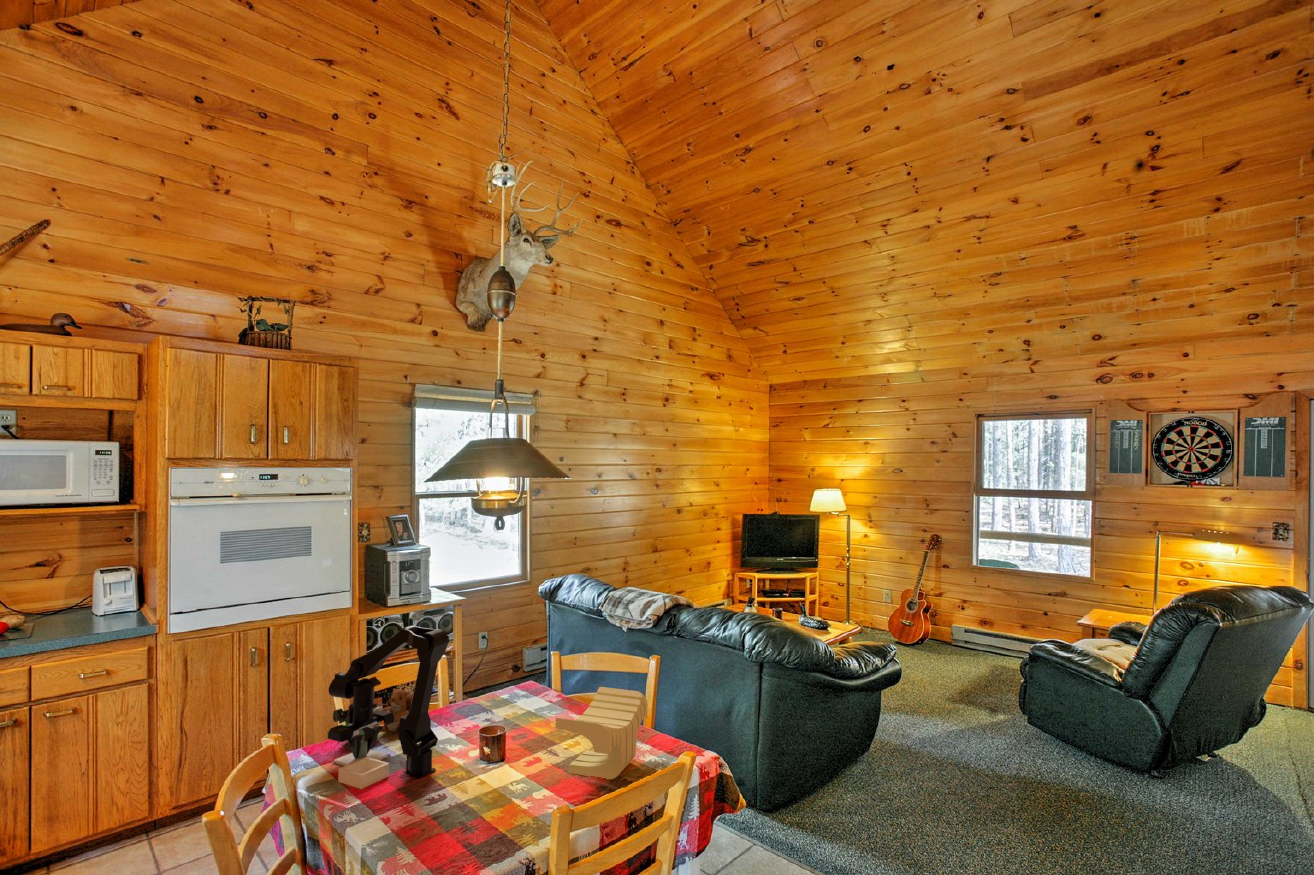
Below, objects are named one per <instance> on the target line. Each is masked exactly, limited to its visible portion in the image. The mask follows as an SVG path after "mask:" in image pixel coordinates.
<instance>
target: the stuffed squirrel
mask: <svg viewBox="0 0 1314 875" xmlns="http://www.w3.org/2000/svg"><path fill="white" fill-rule="evenodd" d="M412 699H413V694H412V691H410V690H408V691H406V690H404V689H399V688H395V687H394V688H393V689H392V694H391V697H390V699H388V700H386V703H385V704H386V707H389V704H390V707H389V708H388V709H386V710H385V711H389V712H392V713H393V714H394V722H393V723H391V724H388V725H386V724H385V723H384V722H383V725H380V726H381V727H383V729H382V730H381V731H380V732H388V731H389V732H392V733H397V734H399V732H397V731H398V729H399V725H400V719H401V717H403V716H405V715H407V714H409V712H410V708H411V704H412ZM380 732H379V733H380Z"/></svg>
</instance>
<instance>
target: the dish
mask: <svg viewBox="0 0 1314 875" xmlns="http://www.w3.org/2000/svg"><path fill="white" fill-rule="evenodd" d="M388 777H390V762H386V761H384V760H382V761H380V760H377V759H373V758H370V757H365V758H362V759H360V760H358V761H355V762H353V763H351V764H348V765H346V766H343V767H342V766H340V767H339V768H338V781H337V782H338V783H342V784H345V785H347V786H350V787H353V788H356V789H359V790H363V789H365V788H367V787H369V786H371V785H373V784H375V783H378V782H379V781H382V780H384V779H386V778H388Z"/></svg>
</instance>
